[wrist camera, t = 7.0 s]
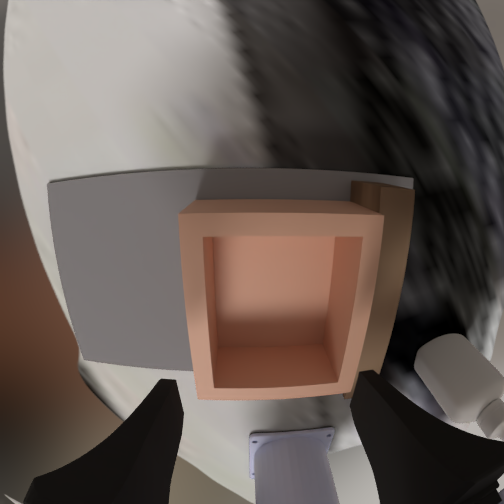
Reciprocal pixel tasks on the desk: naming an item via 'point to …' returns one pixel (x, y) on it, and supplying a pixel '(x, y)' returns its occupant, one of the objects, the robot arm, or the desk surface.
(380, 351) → the end wall
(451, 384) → the eye dropper bottle
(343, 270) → the socket block
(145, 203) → the mat
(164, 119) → the desk surface
